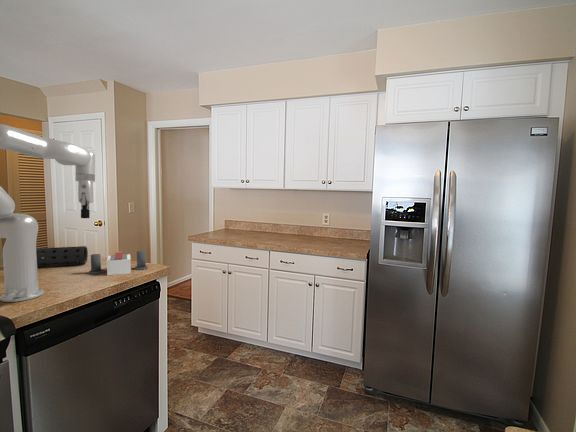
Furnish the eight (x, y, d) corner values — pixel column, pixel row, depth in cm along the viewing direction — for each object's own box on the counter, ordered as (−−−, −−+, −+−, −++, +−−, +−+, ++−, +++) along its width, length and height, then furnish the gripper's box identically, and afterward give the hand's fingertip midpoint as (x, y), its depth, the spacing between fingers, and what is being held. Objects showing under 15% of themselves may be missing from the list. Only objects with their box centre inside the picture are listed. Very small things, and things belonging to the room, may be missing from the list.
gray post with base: (102, 273, 148) (102, 255, 147) (88, 275, 145) (87, 256, 145) (103, 270, 154) (103, 253, 153) (89, 272, 151) (88, 254, 150)
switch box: (130, 273, 150) (130, 258, 150) (107, 275, 146) (106, 260, 145) (130, 267, 161) (130, 253, 160) (108, 269, 156) (108, 255, 156)
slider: (122, 258, 148) (122, 252, 148) (115, 258, 147) (115, 252, 147) (122, 257, 150) (122, 251, 150) (115, 257, 149) (115, 251, 149)
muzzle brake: (83, 266, 160) (83, 247, 159) (16, 271, 150) (15, 250, 149) (88, 262, 169) (87, 244, 168) (25, 266, 159) (24, 246, 158)
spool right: (148, 269, 158) (147, 252, 157) (135, 270, 155) (134, 253, 154) (147, 266, 163) (147, 250, 162) (134, 267, 160) (134, 251, 159)
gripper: (93, 178, 136) (92, 219, 137) (96, 179, 149) (96, 217, 150) (72, 176, 133) (72, 219, 133) (78, 178, 146) (78, 217, 147)
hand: (85, 218), depth 142 cm, fingers closed
